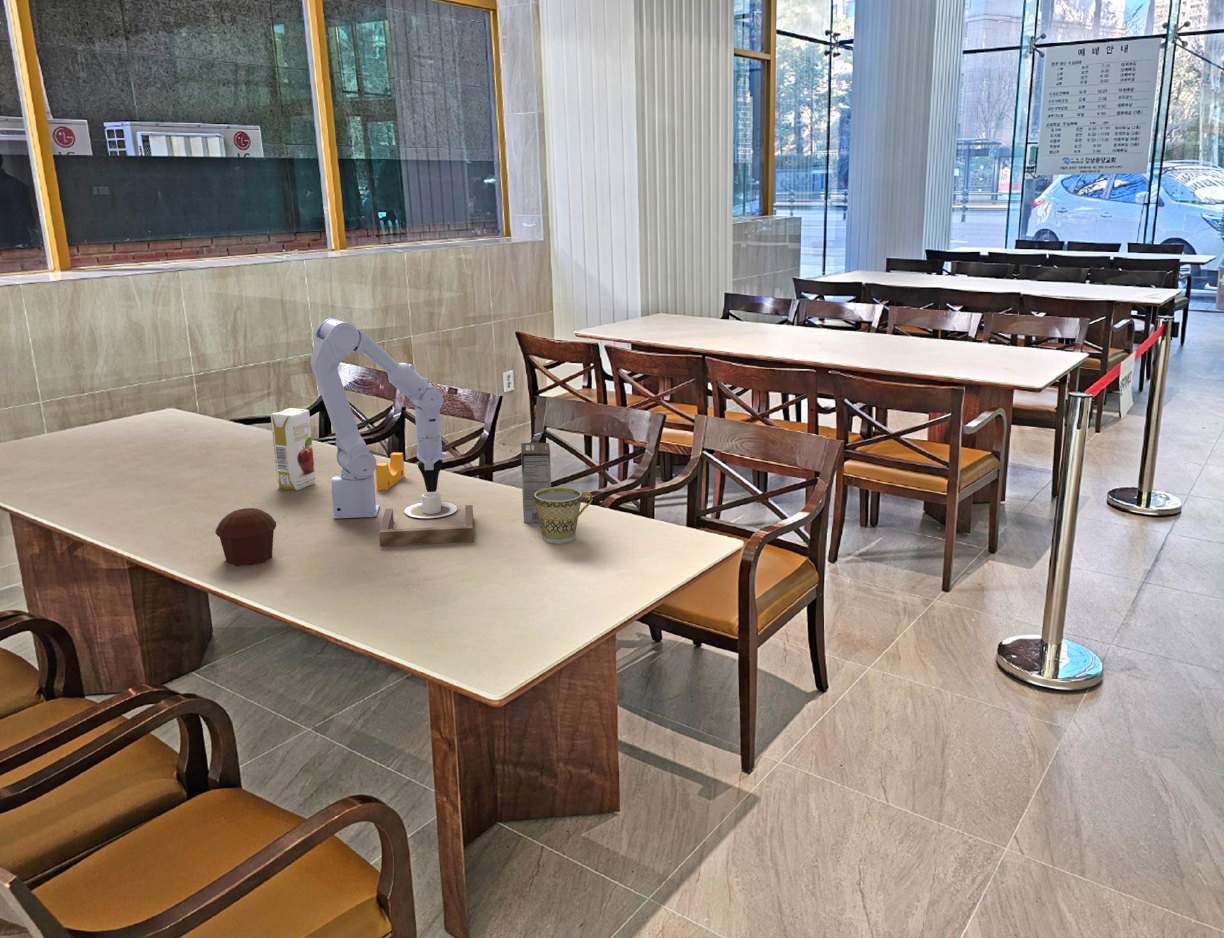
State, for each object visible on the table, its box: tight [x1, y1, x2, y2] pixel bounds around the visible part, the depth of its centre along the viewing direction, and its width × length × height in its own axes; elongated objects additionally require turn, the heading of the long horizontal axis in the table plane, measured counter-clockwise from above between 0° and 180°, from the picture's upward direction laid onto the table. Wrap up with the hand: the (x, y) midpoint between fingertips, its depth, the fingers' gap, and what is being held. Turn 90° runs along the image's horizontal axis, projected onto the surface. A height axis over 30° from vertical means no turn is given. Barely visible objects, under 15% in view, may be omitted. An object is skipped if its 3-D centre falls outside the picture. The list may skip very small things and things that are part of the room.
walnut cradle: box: [378, 504, 474, 547], centre depth 212 cm, size 19×16×3 cm
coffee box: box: [520, 442, 552, 523], centre depth 220 cm, size 9×6×16 cm
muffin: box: [215, 507, 277, 567], centre depth 196 cm, size 12×11×10 cm
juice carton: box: [270, 407, 316, 491], centre depth 243 cm, size 8×9×19 cm
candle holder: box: [403, 491, 458, 519], centre depth 225 cm, size 12×12×4 cm
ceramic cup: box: [534, 486, 594, 545], centre depth 207 cm, size 13×10×10 cm
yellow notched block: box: [375, 452, 405, 491], centre depth 247 cm, size 12×4×6 cm, turn 171°
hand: (431, 491), depth 233 cm, fingers closed
